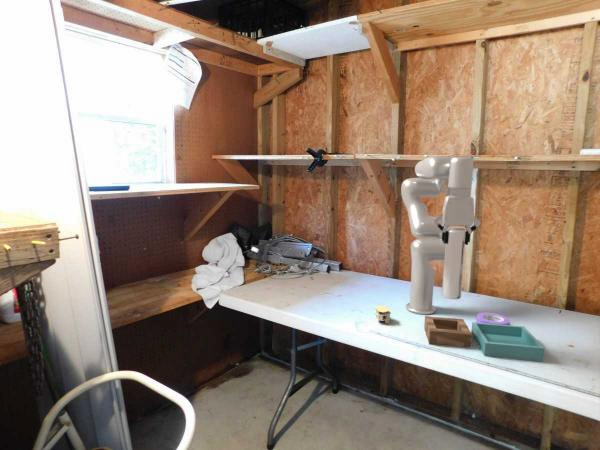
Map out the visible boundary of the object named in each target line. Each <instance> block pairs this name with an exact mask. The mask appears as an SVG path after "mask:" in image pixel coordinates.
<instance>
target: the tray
mask: <svg viewBox="0 0 600 450" xmlns="http://www.w3.org/2000/svg"><path fill="white" fill-rule="evenodd" d="M470 329H471V330H470V332H471V333H472V338H473V339H474V341H475V343H476V345H477V346H478V347H479V350H480V351H481V352H482V355H483V356H484V357H492V358H505V359H516V360H525V361H536V362H544V357H545V349H546V348H545V347H544V346H543V345H542V344H541V342H539V341H538V339H536V337H535V336H534V335H533V334H532V333H531V331H529V330H528V328H526V327H525V326H524V325H511V324H509V325H501V324H489V323H477V321H473V322H471V328H470Z"/></svg>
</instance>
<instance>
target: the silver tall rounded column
mask: <svg viewBox="0 0 600 450" xmlns="http://www.w3.org/2000/svg"><path fill="white" fill-rule="evenodd" d="M465 240H466V228H463V227H449V228H448V230H447V243H446V244H445V258H444V261H443V272H442V273H443V274H442V287H441V297H443V298H446V299H448V300H459V299H461V298H462V290H463V289H462V288H463V286H462V285H463V276H464V263H465V262H464V261H465V251H466V250H465V249H466V244H465Z"/></svg>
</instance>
